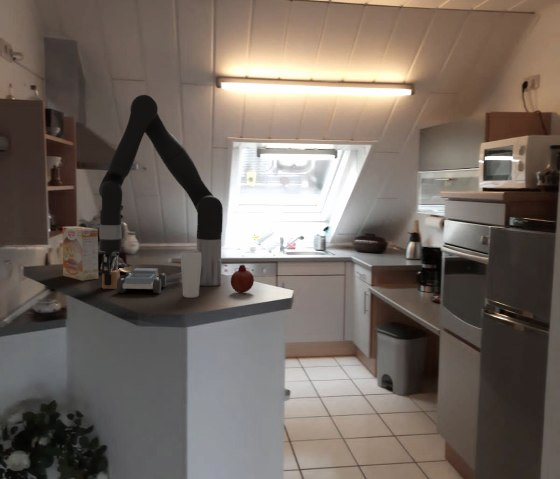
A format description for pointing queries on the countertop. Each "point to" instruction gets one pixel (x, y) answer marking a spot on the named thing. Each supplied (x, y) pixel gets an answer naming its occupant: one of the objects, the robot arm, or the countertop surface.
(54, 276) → the countertop surface
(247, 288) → the fruit
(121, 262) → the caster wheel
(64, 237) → the coffeecake box
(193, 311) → the countertop surface
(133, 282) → the chassis
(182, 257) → the drinking glass
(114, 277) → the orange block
